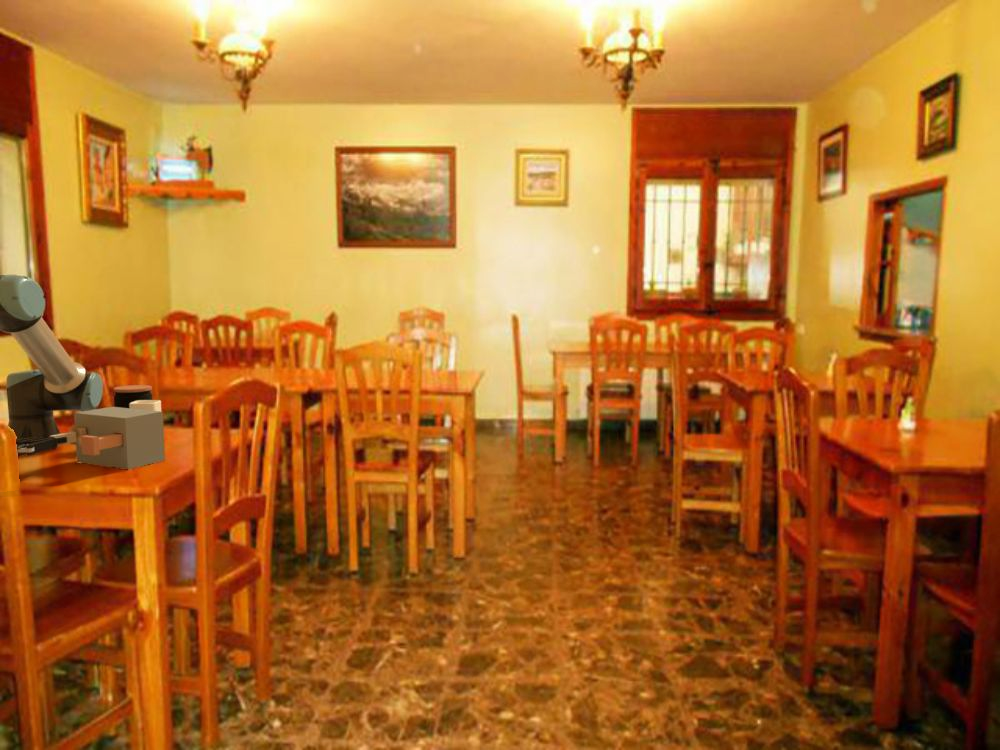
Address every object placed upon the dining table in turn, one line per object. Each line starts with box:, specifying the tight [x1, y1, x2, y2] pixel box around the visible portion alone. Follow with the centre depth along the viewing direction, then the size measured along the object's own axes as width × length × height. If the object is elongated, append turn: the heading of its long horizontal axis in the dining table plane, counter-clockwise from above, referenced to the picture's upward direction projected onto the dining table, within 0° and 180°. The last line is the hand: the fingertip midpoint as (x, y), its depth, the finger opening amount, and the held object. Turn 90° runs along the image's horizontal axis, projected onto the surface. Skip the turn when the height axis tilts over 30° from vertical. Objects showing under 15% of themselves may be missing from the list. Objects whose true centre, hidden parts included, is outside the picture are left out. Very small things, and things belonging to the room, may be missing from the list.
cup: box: [129, 399, 162, 411], centre depth 217 cm, size 7×7×15 cm
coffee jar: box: [113, 384, 153, 408], centre depth 226 cm, size 11×11×18 cm
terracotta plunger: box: [81, 433, 123, 455], centre depth 193 cm, size 5×12×5 cm, turn 156°
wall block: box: [73, 406, 166, 470], centre depth 204 cm, size 20×12×14 cm, turn 66°
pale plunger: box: [68, 426, 87, 446], centre depth 205 cm, size 5×12×5 cm, turn 156°
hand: (74, 436), depth 199 cm, fingers closed
